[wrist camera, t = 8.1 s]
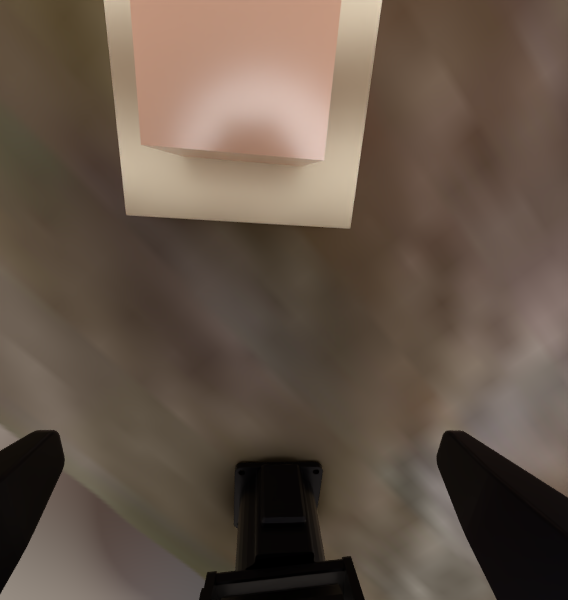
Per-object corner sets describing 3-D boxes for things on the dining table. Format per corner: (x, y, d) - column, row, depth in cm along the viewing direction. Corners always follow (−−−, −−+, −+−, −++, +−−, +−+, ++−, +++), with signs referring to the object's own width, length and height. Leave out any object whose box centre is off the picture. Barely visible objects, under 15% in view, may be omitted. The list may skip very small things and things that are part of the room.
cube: (302, 166, 14) (324, 160, 9) (182, 156, 13) (140, 144, 9) (314, 22, 12) (349, -79, 7) (177, 4, 11) (120, -116, 7)
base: (335, 220, 18) (350, 228, 15) (148, 208, 17) (126, 215, 14) (364, -11, 14) (390, -59, 11) (128, -42, 13) (93, -102, 10)
